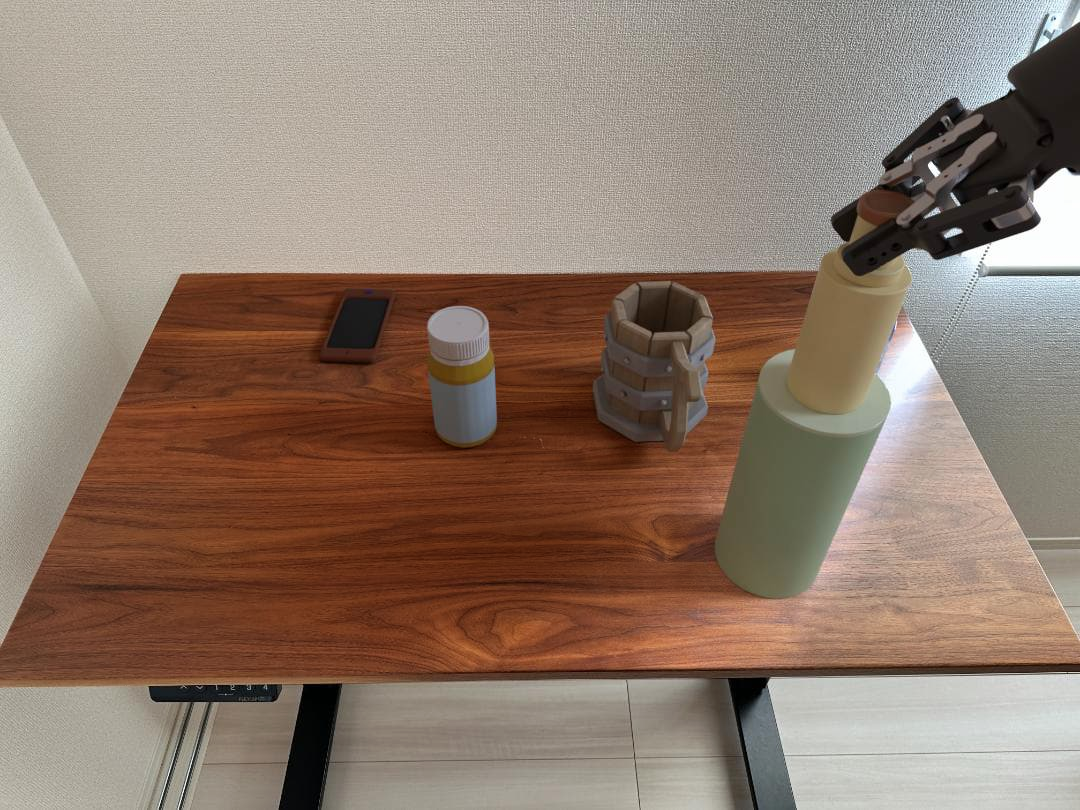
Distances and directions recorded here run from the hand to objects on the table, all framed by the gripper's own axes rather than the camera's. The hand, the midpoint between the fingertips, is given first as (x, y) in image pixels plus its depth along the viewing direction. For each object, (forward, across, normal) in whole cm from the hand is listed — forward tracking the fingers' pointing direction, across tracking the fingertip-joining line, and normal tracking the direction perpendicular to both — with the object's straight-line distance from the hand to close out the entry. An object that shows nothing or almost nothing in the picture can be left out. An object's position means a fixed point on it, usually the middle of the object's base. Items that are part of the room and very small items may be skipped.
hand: (843, 247), depth 52 cm
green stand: (+23, 0, +26) cm, 35 cm away
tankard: (+31, -17, +18) cm, 40 cm away
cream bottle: (+7, 0, +10) cm, 13 cm away
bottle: (+46, -14, +3) cm, 48 cm away
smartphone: (+58, -31, -9) cm, 66 cm away
